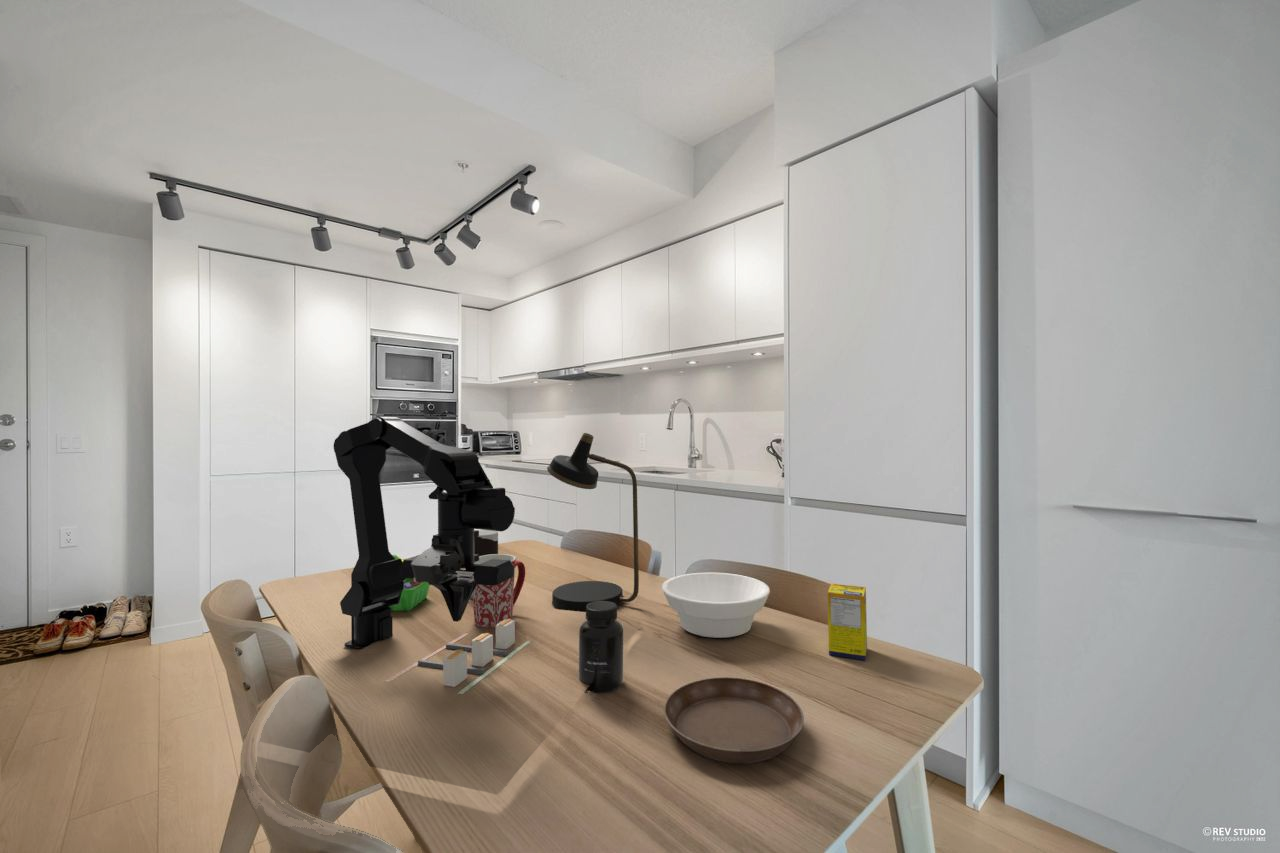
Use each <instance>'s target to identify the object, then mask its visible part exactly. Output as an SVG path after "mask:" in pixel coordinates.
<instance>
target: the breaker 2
mask: <svg viewBox="0 0 1280 853" xmlns="http://www.w3.org/2000/svg"><path fill="white" fill-rule="evenodd" d="M515 643H516V620H513V619H507V620H506V619H505V620H503V621H501V622H500V623H498V624H497V625H496V627H495V649H497V650H505V651H507V649H509V648H510V647H511V646H512V645H515Z"/></svg>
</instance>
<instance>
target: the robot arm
mask: <svg viewBox="0 0 1280 853" xmlns="http://www.w3.org/2000/svg"><path fill="white" fill-rule="evenodd" d="M392 448H394V449H396V451H399V452H400V453H402V454H403V455H405V456H406V457H409V458H410V459H412V460H413V461H415V462H417V463H418V464H419V465H420V466H422V467H423V472H424V475H425V476H426V478H428V479H429V480H430V481H431V482H433V484H435V486H436V488H435V489H434V490H433V491H431V493H429V494H428V499H430V500H437V534H433V535H432V538H431V545H430V547H429V548H427V549H425V550H423V552H421V553H420V554H418V555H415V556H411V557H408V558H405V559H402V558H401V559H402V560H403V562H402V560H401V559H395V558H394V557H393V555H394V554H392V553H391V552H390V550H389V543H388V535H387V527H386V519H385V511H384V505H383V504H384V502H383V496H382V489H381V488H382V486H381V479H380V474H381V472H382V469H383V467H384V465H385V464H386V462H387V451H388V450H390V449H392ZM333 451H334V454H335V459H336V463H337V466H338V468H339V469H340V471H341V472H342V473H343V474H344V475H345V476H346V477H347V478H348V479H349V486H350V493H351V494H350V495H351V502H352V510H353V518H354V526H355V534H356V542H357V543H356V544H357V551H358V552H357V553H358V558H357V561H356V563H355V565H354V566H353V569H352V571H351V576H350V577H351V578H350V581H351V584H350V585H351V587H349V589H348V591H346V594H345V595H344V596H343V598H342V599H341V600H340V602H339V604H340V609H341V613H342V614H343V615H346V616H351V622H350V623H351V624H350V625H351V626H350V627H351V632H350V634H351V636H350V637H351V638H350V639H351V640H348V641H346V642H344V647H347V648H354V649H362V650H363V649H365V648H367V647H369V646H371V645H373V644H375V643H377V642H383V641H385V640H387V639H390V638H391V637H392V636H393V627H394V626H393V625H394V624H393V616H392V610H391V607H389V606H392V605H397V604H399V601H400V597H401V594H402V590H403V588H404V580H405V578H411V579H413V578H415V580H416V582H420V583H421V582H428V583H429V584H430V586H433V587H434V588H436V589H438V591H439V592H440V593H441V595H442V597H443V598H444V599H443V600H444V601H445V604H446V606H447V609H448V612H449V614H450V617H451V620H452V622H457V623H458V622H459V621H461V620H462V618H463V616H464V613H465V611H466V609H467V606H468V603H469V602H470V600H471V599H470V597H471V595H472V593H473V591H474V589H475V588H476V586H477V584H479V585H491V586H493V585H498V584H500V583H502V582H504V581H506V580H508V579H510V578H512V577H514V578H515V574H514V566H513V564H512V562H511V561H510V560H499V559H491V560H489V561H486V562H484V563H481V564H474V562H476V561H479V554H474V538H475V537H478V536H479V531H480V530H491V531H498V532H505V531H506V530H508V529H509V528H510V527H511V525H512V523H513V521H514V518H515V513H516V511H515V510H516V508H515V506H514V504H513V501H512V499H511V498H510V497H509V496H507V494H506V488H505V487H495V488H494V487H493V485H492V483H491V480H490V479H489V478H488V476H487V473H486V471H485V470H484V468H483V467H482V465H481V463H480V462H479V460H480V458H479V456H478V454H476V453H475V452H473V451H471V450H468V449H464V448H462V447H459V446H458V447H457V446H451V445H446V444H443V443H440V442H439V441H437V440H435V439H433V438H432V437H430V436H428V435H426V434H425V433H423V432H422V431H420V430H418V429H416V428H414V427H413V426H411V425H410V424H408V423H406V422H405V421H404V420H403V419H402V418H399V417H397V416H377V417H374V418H372V419H371V420H370V421H368V422H366V423H363V424H360V425H357V426H355V427H351V428H349V429H347V430H344V431H341V432H340V433H339V434H338V436H337V437H336V438H334V441H333Z"/></svg>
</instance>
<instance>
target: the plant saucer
mask: <svg viewBox="0 0 1280 853" xmlns="http://www.w3.org/2000/svg"><path fill="white" fill-rule="evenodd" d="M663 711H664V712H663V714H664V716H665V720H666V721H667V723H668V725H669V727H671V730H672V731H673V732H674V733H675V735H676V736H677V737H678V738H679V739H680V741H681V742H683V743H684V744H685V746H687V747H688V748H690V749H691V750H692V751H694V752H696V754H699V755H701V756H703V757H706V758H709V759H712V760H715V761H718V762H723V763H730V764H752V763H760V762H763V761H767V760H770V759H772V758H773V757H776V756H778V755H779V754H781V753H783V751H785V750H786V749H787V748H789V746H791V744H793V742H794V741H795V740H796V738H797V737H798V736H799V734H800V732H801V731H802V728H803V727H804V726H803V725H804V723H805V722H804V720H805V719H804V718H805V716H804V712H803V709H802V708H801V707H800V705H799V704H798V703H797V701H796V700H795V699H794V698H793V697H792V696H790V695H789V694H787V693H786V692H784V691H783V690H781V689H779V688H778V687H775V686H772V685H769V684H767V683H763V682H760V681H757V680H753V679H747V678H740V677H725V676H724V677H722V676H721V677H710V678H705V679H700V680H699V679H698V680H694V681H692V682H689V683H687V684H684V685H682V686H680V687H678V688H677V689H674V691H673V692H672V693H671V694H670V695H669V696H668V697H667V699H666V701H665V703H664V707H663Z"/></svg>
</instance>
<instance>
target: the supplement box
mask: <svg viewBox="0 0 1280 853" xmlns="http://www.w3.org/2000/svg"><path fill="white" fill-rule="evenodd" d="M866 589H867V588H866V586H859V585H852V584H851V585H850V584H849V585H848V584H840V583H839V584H838V583H831V584H830V585H829V588H828V591H827V628H828V629H827V631H828V655H829V656H834V657H835V656H836V657H841V658H849V659H854V660H855V659H856V660H861V661H866V660H867V654H868V653H867V651H868V634H867V633H868V630H867V629H868V628H867V626H868V625H867V592H866Z"/></svg>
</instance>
